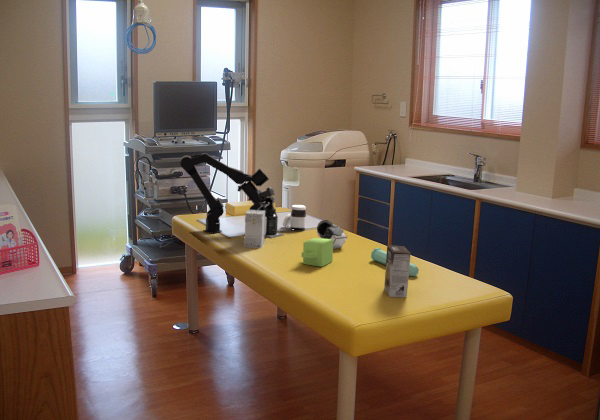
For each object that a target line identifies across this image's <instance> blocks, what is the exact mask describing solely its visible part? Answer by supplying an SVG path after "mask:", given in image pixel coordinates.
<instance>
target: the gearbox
mask: <svg viewBox="0 0 600 420" xmlns="http://www.w3.org/2000/svg"><path fill="white" fill-rule="evenodd" d="M302 246H303V250H302V252H301V258H302V264H304V265H309V266H314V267H325V266H326V265H328V264H330V263H332V262H333V258H334V257H333V256H334V255H333V253H334V249H333V240H331V239H323V238H321V237H313V238H310V239H307V240H306V241H304V242H303V245H302Z"/></svg>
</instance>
